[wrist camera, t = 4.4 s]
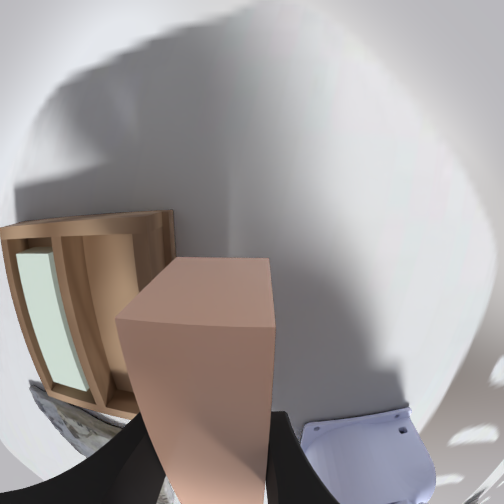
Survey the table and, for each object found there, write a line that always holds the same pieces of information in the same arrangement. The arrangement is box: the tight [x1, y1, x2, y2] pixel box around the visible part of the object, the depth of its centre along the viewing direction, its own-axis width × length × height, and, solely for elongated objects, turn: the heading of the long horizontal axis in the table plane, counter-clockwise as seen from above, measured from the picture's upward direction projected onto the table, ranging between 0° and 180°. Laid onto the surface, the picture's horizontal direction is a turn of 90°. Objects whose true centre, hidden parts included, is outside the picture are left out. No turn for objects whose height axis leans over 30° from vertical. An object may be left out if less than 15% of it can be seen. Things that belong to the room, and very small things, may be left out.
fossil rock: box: [29, 386, 174, 504], centre depth 21 cm, size 18×15×2 cm
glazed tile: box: [16, 247, 89, 391], centre depth 15 cm, size 3×10×2 cm, turn 1°
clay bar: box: [115, 257, 276, 504], centre depth 9 cm, size 3×10×5 cm, turn 0°
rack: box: [0, 210, 176, 420], centre depth 15 cm, size 13×14×3 cm
